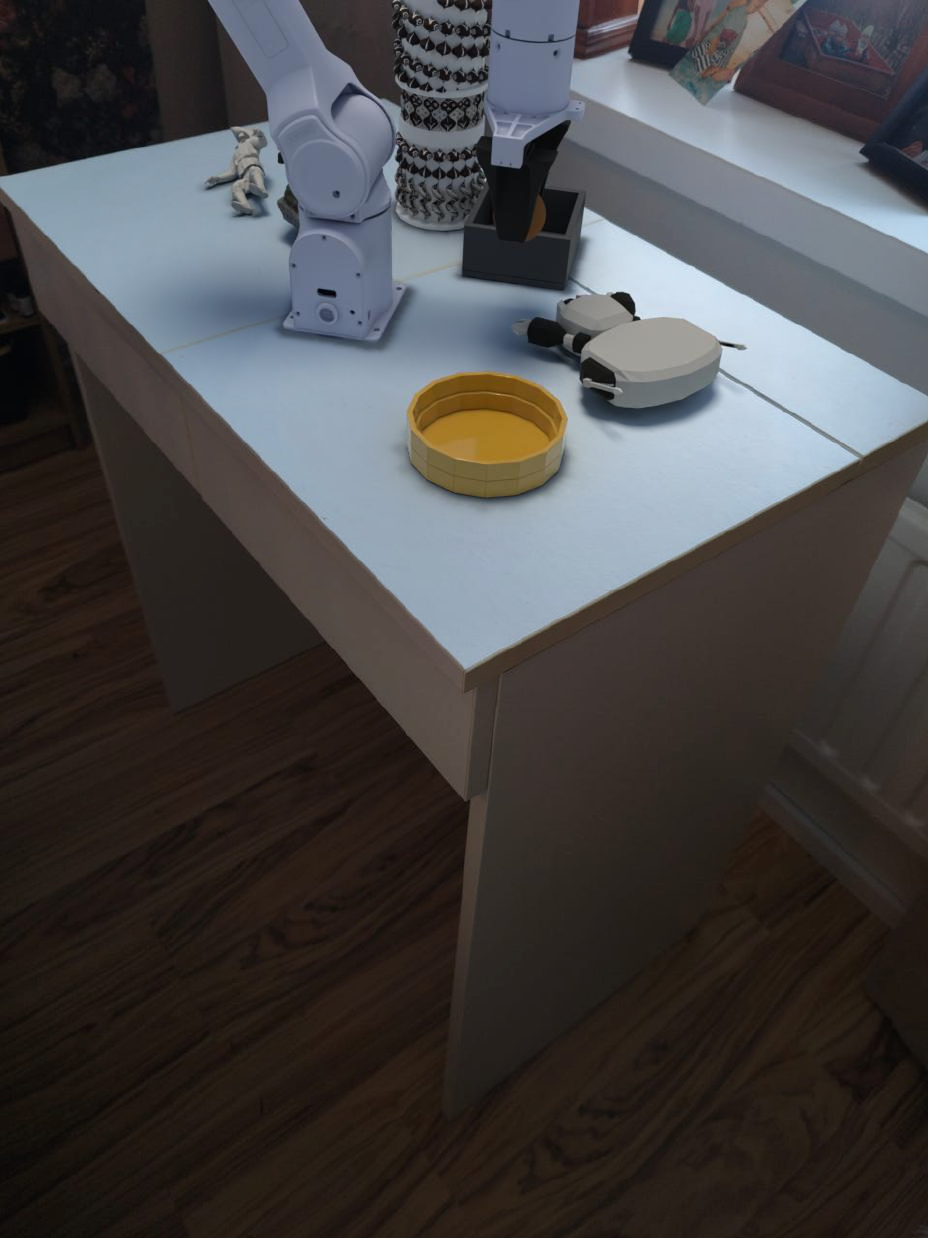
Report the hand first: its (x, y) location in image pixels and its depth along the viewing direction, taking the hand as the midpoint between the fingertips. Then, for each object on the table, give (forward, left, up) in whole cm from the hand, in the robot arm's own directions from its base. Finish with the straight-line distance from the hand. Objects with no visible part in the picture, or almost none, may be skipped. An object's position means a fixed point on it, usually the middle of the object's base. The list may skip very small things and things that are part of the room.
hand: (517, 227), depth 77 cm
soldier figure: (+18, +29, -9) cm, 36 cm away
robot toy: (-5, -10, -9) cm, 14 cm away
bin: (+12, +1, -8) cm, 15 cm away
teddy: (0, 0, -1) cm, 1 cm away
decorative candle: (+19, +10, -9) cm, 24 cm away
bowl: (-18, -2, -8) cm, 19 cm away
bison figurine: (+9, +18, -9) cm, 23 cm away
